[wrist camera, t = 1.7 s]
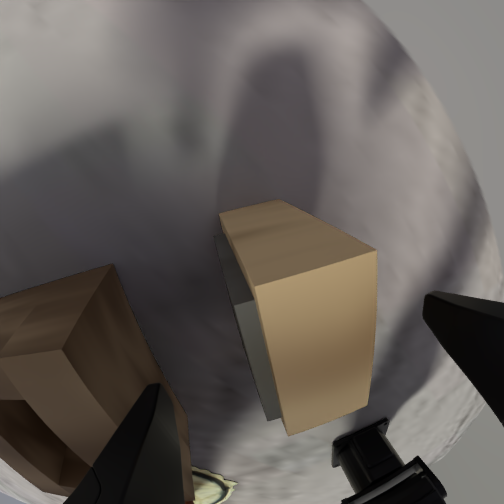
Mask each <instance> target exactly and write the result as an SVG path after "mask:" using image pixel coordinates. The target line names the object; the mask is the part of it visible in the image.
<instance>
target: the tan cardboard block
mask: <svg viewBox="0 0 504 504" xmlns="http://www.w3.org/2000/svg"><path fill="white" fill-rule="evenodd" d="M219 218H220V222H221V226H222V230H223V234H220V235H217V236H214V240H215V244H216V248H217V252H218V256H219V260H220V264H221V267H222V271H223V275H224V279H225V282H226V286H227V290H228V294H229V297H230V301H231V305H232V308H233V312H234V315H235V319H236V323H237V326H238V330H239V333H240V336H241V340H242V343H243V346H244V349H245V353H246V356H247V359H248V362H249V365H250V369H251V372H252V375H253V378H254V381H255V384H256V388H257V391H258V394H259V397H260V400H261V403H262V406H263V409H264V412H265V415H266V418H267V421H271V420H274V419H278V418H281V419H282V422H283V424H284V427H285V429H286V432H287V434H288V436H291V435H294V434H297V433H300V432H303V431H306V430H309V429H311V428H314V427H317V426H320V425H322V424H325V423H327V422H330V421H332V420H335V419H337V418H340V417H342V416H344V415H347V414H349V413H351V412H354V411H356V410H358V409H360V408H362V407H365V406H367V404H368V397H369V390H370V383H371V375H372V366H373V356H374V344H375V330H376V311H377V250H376V249H374V248H372V247H370V246H369V245H367V244H365V243H363V242H361V241H360V240H358V239H356V238H354V237H352V236H350V235H349V234H347V233H345V232H343V231H341V230H339V229H337V228H335V227H333V226H332V225H330V224H328V223H326V222H324V221H322V220H320V219H318V218H316V217H314V216H312V215H310V214H308V213H306V212H304V211H302V210H300V209H298V208H296V207H294V206H292V205H290V204H288V203H286V202H284V201H282V200H280V199H277V200H272V201H268V202H264V203H259V204H255V205H251V206H247V207H243V208H238V209H234V210H230V211H226V212H222V213H219Z"/></svg>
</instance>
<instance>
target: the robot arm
mask: <svg viewBox="0 0 504 504" xmlns="http://www.w3.org/2000/svg"><path fill="white" fill-rule="evenodd" d="M422 316H423V319H424V321H425V322H426V324H427V325H428V326H429V328H430V329H431V331H432V332H433V334H434V335H435V336H436V338H437V339H438V341H439V342H440V344H441V345H442V346H443V348H444V349H445V350H446V352H447V353H448V354H449V355H450V357H451V358H452V359H453V360H454V361H455V363H456V364H457V365H458V366H459V368H460V369H461V370H462V371H463V373H464V374H465V375H466V376H467V378H468V379H469V380H470V381H471V383H472V384H473V385H474V386H475V388H476V389H477V390H478V392H479V393H480V394H481V396H482V397H483V398H484V400H485V401H486V402H487V404H488V405H489V406H490V408H491V409H492V410H493V412H494V413H495V415H496V416H497V418H498V419H499V421H500V422H501V423H502V425H503V427H504V303H502V302H497V301H491V300H485V299H480V298H474V297H468V296H463V295H457V294H451V293H446V292H440V291H432V292H430V293H428V294H426V295H425V297H424V304H423V312H422ZM389 422H390V421H389V420H388V419H387V418H386V419H384V420H382V421H380V422H378V423H376V424H374V425H372V426H370V427H368V428H366V429H364V430H362V431H359V432H357V433H355V434H353V435H351V436H348V437H346V438H344V439H341V440H339V441H337V442H335V443H334V444H333V445H332V467H333V468H335V467H338V466H340V465H341V467H342V469H343V471H344V473H345V475H346V477H347V479H348V481H349V482H350V484H351V486H352V488H353V490H354V492H355V495H353V496H351V497H349V498H345V499H343V500H341V501H342V503H341V504H446V503H445V501H444V498H445V497H447V493H446V491H445V488H444V487H443V485H442V484H441V482H440V481H439V480H438V478H437V477H436V476H435V475H434V474H433V472H432V471H431V470H430V469H429V468H428V467H427V465H426V464H425V463H424V462H423V461H422V460H421V458H420V457H419V456H416V457H415V458H413V460H412V461H410V462H409V463H407V464H406V465H405V464H404V463H403V461H402V460H401V458H400V457H399V455H398V454H397V452H396V451H395V449H394V448H393V446H392V445H391V444H390V442H389V441H388V439H387V438H386V436H385V435H386V432H387V429H388V425H389ZM92 466H93V467H90V469H89V470H88V472H87V473H86V475H85V476H84V478H83V479H82V480H81V482H80V483H79V485H78V486H77V487H76V489H75V490H74V491H73V492H72V493H71V495H70V496H69V497H68V498H67V500H66V501H65V502H64V503H63V504H185V498H184V488H183V476H182V462H181V449H180V442H179V436H178V431H177V425H176V419H175V412H174V406H173V402H172V400H171V398H170V396H169V395H168V393H167V391H166V390H165V388H164V386H163V385H162V384H161V383H159V382H158V383H152V384H148V385H147V386H146V387H145V389H144V390H143V392H142V393H141V395H140V396H139V398H138V399H137V400H136V402H135V403H134V405H133V406H132V408H131V409H130V411H129V412H128V413H127V415H126V416H125V418H124V419H123V421H122V422H121V424H120V425H119V426H118V428H117V429H116V431H115V432H114V434H113V435H112V437H111V438H110V440H109V441H108V443H107V444H106V445H105V447H104V448H103V450H102V451H101V453H100V454H99V456H98V457H97V459H96V460H95V462H94V463H93V465H92ZM415 472H416V473H415Z"/></svg>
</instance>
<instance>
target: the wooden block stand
mask: <svg viewBox="0 0 504 504" xmlns="http://www.w3.org/2000/svg"><path fill="white" fill-rule="evenodd" d="M158 382H159V383H161V384H162V385H163V386H164V388H165V390H166V391H167V393H168V395H169V396H170V398H171V400H172V402H173V406H174V412H175V419H176V425H177V431H178V436H179V442H180V449H181V462H182V476H183V488H184V498H185V501H195V493H194V485H193V476H192V467H191V457H190V446H189V433H188V419H187V415H186V413H185V411H184V410H183V408H182V406H181V405H180V403H179V401H178V400H177V398H176V396H175V395H174V393H173V391H172V389H171V388H170V386H169V384H168V382H167V381H166V379H165V377H164V375H163V373H162V371H161V370H160V368H159V366H158V364H157V362H156V360H155V358H154V356H153V354H152V352H151V350H150V348H149V346H148V344H147V342H146V340H145V338H144V336H143V334H142V332H141V330H140V327H139V325H138V323H137V321H136V319H135V316H134V314H133V312H132V310H131V307H130V305H129V303H128V300H127V298H126V296H125V293H124V291H123V288H122V286H121V283H120V281H119V278H118V276H117V273H116V270H115V268H114V265H113V264H109V265H106V266H103V267H99V268H96V269H92V270H89V271H85V272H82V273H79V274H75V275H72V276H69V277H65V278H62V279H59V280H55V281H52V282H49V283H46V284H43V285H39V286H36V287H33V288H30V289H27V290H23V291H20V292H17V293H14V294H11V295H8V296H5V297H2V298H0V458H1V459H2V460H4V461H5V462H6V463H7V464H8V465H9V466H10V467H12V468H13V469H14V470H15V471H16V472H18V473H19V474H20V475H21V476H23V477H24V478H25V479H26V480H28V481H29V482H30V483H32V484H33V485H34V486H36V487H37V488H38V489H40V490H41V491H43V492H47V493H51V494H56V495H61V496H66V497H69V496H70V495H71V493H72V492H73V491H74V490H75V489H76V487H77V486H78V485H79V483H80V482H81V480H82V479H83V478H84V476H85V475H86V473H87V472H88V470H89V469H90V467H93V466H92V465H93V463H94V462H95V460H96V459H97V457H98V456H99V454H100V453H101V451H102V450H103V448H104V447H105V445H106V444H107V443H108V441H109V440H110V438H111V437H112V435H113V434H114V432H115V431H116V429H117V428H118V426H119V425H120V424H121V422H122V421H123V419H124V418H125V416H126V415H127V413H128V412H129V411H130V409H131V408H132V406H133V405H134V403H135V402H136V400H137V399H138V398H139V396H140V395H141V393H142V392H143V390H144V389H145V387H146V386H147V385H148V384H152V383H158Z"/></svg>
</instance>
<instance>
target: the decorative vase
mask: <svg viewBox="0 0 504 504" xmlns="http://www.w3.org/2000/svg"><path fill="white" fill-rule="evenodd" d="M191 467H192V466H191ZM192 476H193V485H194V493H195V501H185V504H220V503H221V502H223V501H225V500H227V499H228V497H229V496H230V495H231V492H232V491H234V490H235V489H232V487H233V485H236V484H238V483H235V482H231V481H227V480H223V477H222V476H221V475H217V474H212V473H210V472H209V471H208V470H205V469H203V470H199V469H198V468H196V467H192Z"/></svg>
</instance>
